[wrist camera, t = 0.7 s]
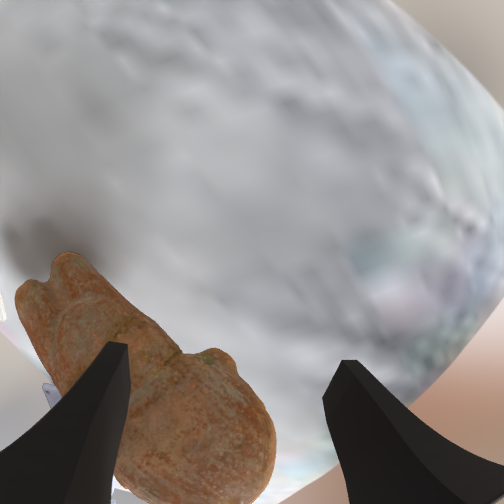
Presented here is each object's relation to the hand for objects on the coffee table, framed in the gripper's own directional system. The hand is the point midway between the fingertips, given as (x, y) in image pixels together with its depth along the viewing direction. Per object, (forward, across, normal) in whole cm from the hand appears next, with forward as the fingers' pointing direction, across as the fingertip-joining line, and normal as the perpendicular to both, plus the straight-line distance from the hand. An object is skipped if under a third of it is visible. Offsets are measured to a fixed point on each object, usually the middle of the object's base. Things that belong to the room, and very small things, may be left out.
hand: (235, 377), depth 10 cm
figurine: (+8, +10, +1) cm, 12 cm away
